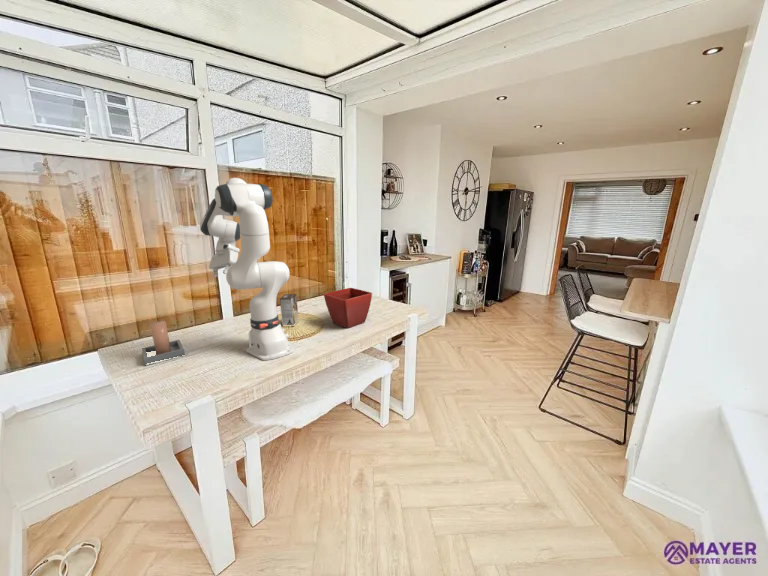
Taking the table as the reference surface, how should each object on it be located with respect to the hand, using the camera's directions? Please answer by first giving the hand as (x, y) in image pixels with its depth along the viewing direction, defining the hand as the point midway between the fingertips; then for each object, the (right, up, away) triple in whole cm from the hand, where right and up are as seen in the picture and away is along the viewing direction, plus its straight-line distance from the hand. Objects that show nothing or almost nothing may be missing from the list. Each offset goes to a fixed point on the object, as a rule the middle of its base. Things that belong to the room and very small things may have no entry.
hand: (220, 275), depth 163 cm
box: (-13, -36, -23) cm, 45 cm away
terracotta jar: (-13, -35, -23) cm, 44 cm away
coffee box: (+33, -27, +11) cm, 44 cm away
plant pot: (+65, -26, +11) cm, 71 cm away
